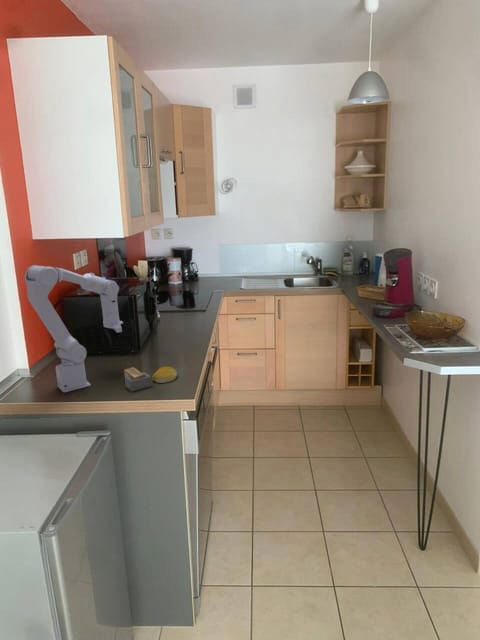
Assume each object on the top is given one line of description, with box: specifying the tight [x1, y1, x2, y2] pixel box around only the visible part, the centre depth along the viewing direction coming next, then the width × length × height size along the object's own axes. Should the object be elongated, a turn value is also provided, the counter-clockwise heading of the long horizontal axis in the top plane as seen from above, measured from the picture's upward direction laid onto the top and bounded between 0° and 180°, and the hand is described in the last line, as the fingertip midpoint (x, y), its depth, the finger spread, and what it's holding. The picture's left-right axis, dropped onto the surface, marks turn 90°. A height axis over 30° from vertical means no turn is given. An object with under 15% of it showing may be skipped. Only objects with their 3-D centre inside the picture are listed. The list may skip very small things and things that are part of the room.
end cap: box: [124, 371, 153, 392], centre depth 162 cm, size 7×6×4 cm
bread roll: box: [151, 366, 178, 384], centre depth 168 cm, size 8×9×4 cm
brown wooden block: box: [123, 367, 144, 380], centre depth 165 cm, size 4×10×4 cm, turn 34°
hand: (114, 346), depth 177 cm, fingers closed
